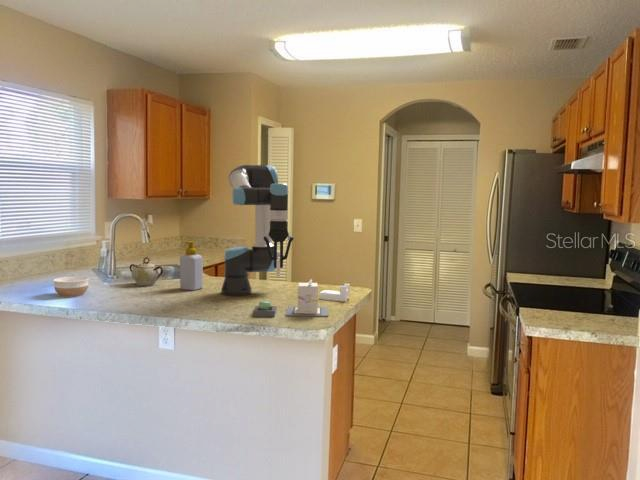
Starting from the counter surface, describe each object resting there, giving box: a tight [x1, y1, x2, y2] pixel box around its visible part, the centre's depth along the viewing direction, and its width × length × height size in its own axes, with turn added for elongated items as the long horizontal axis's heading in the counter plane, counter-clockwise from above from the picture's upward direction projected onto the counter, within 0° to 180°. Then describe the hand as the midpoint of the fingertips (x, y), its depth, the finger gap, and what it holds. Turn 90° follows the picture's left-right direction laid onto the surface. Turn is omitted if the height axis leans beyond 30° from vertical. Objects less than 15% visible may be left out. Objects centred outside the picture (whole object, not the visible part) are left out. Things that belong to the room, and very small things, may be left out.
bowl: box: [52, 275, 90, 298], centre depth 259 cm, size 16×16×8 cm
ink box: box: [297, 278, 319, 313], centre depth 231 cm, size 9×8×13 cm
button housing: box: [252, 305, 277, 318], centre depth 227 cm, size 9×9×2 cm
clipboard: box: [285, 305, 329, 318], centre depth 232 cm, size 18×16×1 cm
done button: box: [258, 300, 272, 310], centre depth 226 cm, size 5×5×3 cm
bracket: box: [319, 283, 351, 302], centre depth 259 cm, size 13×7×8 cm, turn 70°
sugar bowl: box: [129, 256, 164, 287], centre depth 288 cm, size 20×15×15 cm
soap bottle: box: [179, 240, 204, 291], centre depth 277 cm, size 9×9×25 cm
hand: (278, 275), depth 227 cm, fingers closed
